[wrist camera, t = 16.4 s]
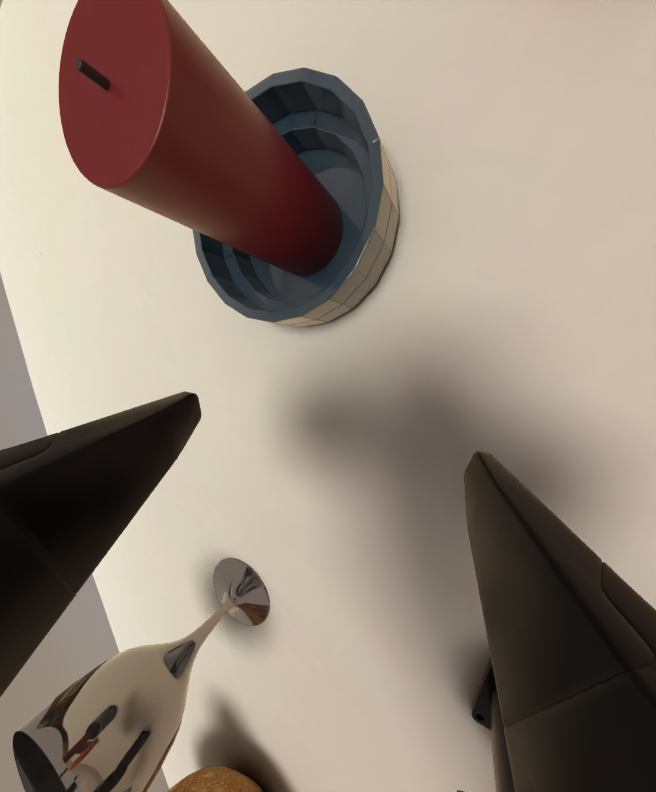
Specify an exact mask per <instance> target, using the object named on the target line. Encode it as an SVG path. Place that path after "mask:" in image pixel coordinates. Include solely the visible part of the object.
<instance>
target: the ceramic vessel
mask: <svg viewBox="0 0 656 792" xmlns="http://www.w3.org/2000/svg"><path fill="white" fill-rule="evenodd" d="M168 792H263V791H262V789H261V788H260V787H259V786H258V785H257V784H256V783H255V782H254V781H253V780H252V779H250V778H249V777H247V776H245V775H243V774H241V773H239V772H237V771H235V770H233V769H230V768H227V767H218V766H217V767H208V768H203V769H201V770H198V771H196V772H194V773H192V774H190V775H188V776H186V777H185V778H184V779H182V780H181V781H180V782H178V783H177V784H175V785H174V786H173V787H172V788H171V789H170V790H169V791H168Z"/></svg>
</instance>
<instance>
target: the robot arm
mask: <svg viewBox="0 0 656 792" xmlns="http://www.w3.org/2000/svg"><path fill="white" fill-rule="evenodd" d="M200 419H201V409H200V404H199V399H198V396H197V395H196V394H195V393H190V392H181V393H178V394H175V395H172V396H169V397H166V398H163V399H160V400H157V401H154V402H151V403H147V404H144V405H141V406H138V407H135V408H132V409H129V410H126V411H123V412H120V413H117V414H114V415H111V416H107V417H104V418H101V419H98V420H95V421H92V422H89V423H86V424H83V425H80V426H77V427H74V428H71V429H68V430H64V431H61V432H60V433H55V434H52V435H49V436H46V437H43V438H40V439H37V440H34V441H30V442H27V443H24V444H20V445H18V446H14V447H11V448H7V449H3V450H0V697H1V695H2V694H3V693H4V691H5V690H6V689H7V687H8V686H9V685H10V683H11V682H12V681H13V679H14V678H15V677H16V675H17V674H18V673H19V671H20V670H21V668H22V667H23V666H24V664H25V663H26V662H27V660H28V659H29V658H30V656H31V655H32V654H33V652H34V651H35V650H36V648H37V647H38V646H39V644H40V643H41V641H42V640H43V639H44V637H45V636H46V635H47V633H48V632H49V631H50V629H51V628H52V627H53V625H54V624H55V623H56V621H57V620H58V619H59V617H60V616H61V615H62V613H63V612H64V611H65V609H66V608H67V606H68V605H69V604H70V602H71V601H72V600H73V598H74V597H75V596H76V593H77V592H78V591H79V590H80V589H81V587H82V586H83V585H84V583H85V582H86V580H87V579H88V578H89V577H90V575H91V574H92V572H93V571H94V570H95V568H96V567H97V566H98V564H99V563H100V562H101V560H102V559H103V558H104V556H105V555H106V554H107V552H108V551H109V550H110V548H111V547H112V546H113V544H114V543H115V541H116V540H117V539H118V537H119V536H120V535H121V533H122V532H123V531H124V529H125V528H126V527H127V525H128V524H129V523H130V521H131V520H132V519H133V517H134V516H135V515H136V513H137V512H138V510H139V509H140V508H141V506H142V505H143V504H144V502H145V501H146V500H147V498H148V497H149V496H150V494H151V493H152V492H153V490H154V489H155V488H156V486H157V485H158V484H159V482H160V481H161V479H162V478H163V477H164V475H165V474H166V473H167V471H168V470H169V469H170V467H171V466H172V465H173V463H174V462H175V460H176V459H177V458H178V456H179V455H180V453H181V451H182V450H183V448H184V446H185V445H186V443H187V441H188V440H189V438H190V436H191V435H192V433H193V431H194V429H195V428H196V426H197V424H198V423H199V421H200ZM464 482H465V499H466V516H467V526H468V533H469V538H470V544H471V549H472V555H473V560H474V566H475V571H476V577H477V582H478V588H479V593H480V599H481V604H482V610H483V616H484V621H485V627H486V632H487V638H488V643H489V649H490V654H491V660H490V662H489V665H488V667H487V670H486V672H485V674H484V677H483V679H482V682H481V684H480V687H479V689H478V691H477V694H476V696H475V699H474V701H473V704H472V707H471V711H472V717H473V718H474V720H476V721H477V722H478V723H480V724H481V725H483V726H485V727H486V728H488V729H489V730H491V736H492V749H493V761H494V774H495V787H496V792H656V610H655V609H654V608H653V607H652V606H651V605H649V604H648V603H647V602H646V601H645V600H644V599H643V598H642V597H641V596H640V595H639V594H638V593H636V592H635V591H634V590H633V589H632V588H631V587H630V586H629V585H628V584H627V583H626V582H625V581H624V580H623V579H621V578H620V577H619V576H618V575H617V574H616V573H615V572H614V571H613V570H612V569H611V568H610V567H609V566H608V565H607V564H606V563H604V562H602V560H601V559H600V558H599V557H598V556H597V555H596V554H595V553H594V552H593V551H592V550H591V549H590V548H589V547H588V546H587V545H586V544H585V543H584V542H583V541H582V540H581V539H580V538H578V537H577V536H576V535H575V534H574V533H573V532H572V531H571V530H570V529H569V528H568V527H567V526H566V525H565V524H564V523H563V522H562V521H561V520H560V519H559V518H558V517H557V516H556V515H554V514H553V513H552V512H551V511H550V510H549V509H548V508H547V507H546V506H545V505H544V504H543V503H542V502H541V501H540V500H539V499H538V498H537V497H536V496H535V495H534V494H533V493H531V492H530V491H529V490H528V489H527V488H526V487H525V486H524V485H523V484H522V483H521V482H520V481H519V480H518V479H517V478H516V477H515V476H514V475H513V474H512V473H511V472H510V471H508V470H507V469H506V468H505V467H504V466H503V465H502V464H501V463H500V462H499V461H498V460H497V459H496V458H495V457H494V456H493V455H491V454H489V453H484V452H479V451H477V452H475V453H474V454H473V456H472V458H471V460H470V462H469V464H468V466H467V468H466V470H465V474H464ZM457 792H463V791H459V790H457Z"/></svg>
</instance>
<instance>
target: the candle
mask: <svg viewBox="0 0 656 792" xmlns="http://www.w3.org/2000/svg"><path fill="white" fill-rule="evenodd" d="M59 107H60V116H61V123H62V128H63V133H64V137H65V140H66V144H67V147H68V149H69V152H70V155H71V157H72V159H73V161H74V163H75V164H76V166H77V168H78V169H79V171H80V172H81V173H82V174H83V175H84V177H86V178H87V179H88V180H89V181H90V182H91V183H93V184H94V185H96V186H98V187H100V188H102V189H104V190H107V191H109V192H111V193H113V194H115V195H118V196H120V197H122V198H124V199H127V200H129V201H131V202H133V203H135V204H138V205H140V206H142V207H144V208H147V209H149V210H151V211H153V212H155V213H158V214H160V215H162V216H164V217H167V218H169V219H171V220H173V221H175V222H178V223H180V224H182V225H184V226H187V227H189V228H191V229H193V230H195V231H198V232H200V233H202V234H204V235H207V236H209V237H211V238H213V239H215V240H218V241H220V242H222V243H224V244H227V245H229V246H231V247H233V248H235V249H238V250H240V251H242V252H244V253H247V254H249V255H251V256H253V257H255V258H258V259H260V260H262V261H264V262H267V263H269V264H271V265H273V266H275V267H278V268H280V269H282V270H284V271H287V272H289V273H291V274H294V275H298V276H306V275H311V274H314V273H316V272H318V271H320V270H321V269H323V268H324V267H325V266H326V265H327V264H328V263H329V262H330V261H331V259H332V258H333V257H334V255H335V253H336V251H337V249H338V247H339V244H340V241H341V237H342V230H343V221H342V215H341V211H340V208H339V206H338V204H337V202H336V200H335V199H334V198H333V197H332V195H331V194H330V193H329V192H328V191H327V190H326V188H325V187H324V186H323V185H322V184H321V182H320V181H319V180H318V179H317V178H316V176H315V175H314V174H313V173H312V172H311V170H310V169H309V168H308V167H307V166H306V165H305V163H304V162H303V161H302V160H301V159H300V157H299V156H298V155H297V154H296V153H295V151H294V150H293V149H292V148H291V147H290V145H289V144H288V143H287V142H286V141H285V140H284V138H283V137H282V136H281V135H280V134H279V132H278V131H277V130H276V129H275V128H274V126H273V125H272V124H271V123H270V122H269V120H268V119H267V118H266V117H265V116H264V115H263V113H262V112H261V111H260V110H259V109H258V107H257V106H256V105H255V104H254V103H253V101H252V100H251V99H250V98H249V97H248V95H247V94H246V93H245V92H244V91H243V90H242V88H241V87H240V86H239V85H238V84H237V82H236V81H235V80H234V79H233V78H232V76H231V75H230V74H229V73H228V72H227V70H226V69H225V68H224V67H223V66H222V65H221V63H220V62H219V61H218V60H217V59H216V57H215V56H214V55H213V54H212V53H211V51H210V50H209V49H208V48H207V47H206V45H205V44H204V43H203V42H202V41H201V40H200V38H199V37H198V36H197V35H196V34H195V32H194V31H193V30H192V29H191V28H190V26H189V25H188V24H187V23H186V22H185V20H184V19H183V18H182V17H181V16H180V15H179V13H178V12H177V11H176V10H175V9H174V7H173V6H172V5H171V4H170V3H169V1H168V0H78V2H77V4H76V7H75V9H74V11H73V14H72V16H71V19H70V22H69V25H68V28H67V32H66V35H65V40H64V44H63V49H62V55H61V62H60V72H59Z"/></svg>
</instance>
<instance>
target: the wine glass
mask: <svg viewBox="0 0 656 792" xmlns="http://www.w3.org/2000/svg"><path fill="white" fill-rule="evenodd" d="M213 579H214V587H215V590H216V593H217V596H218V598H219V600H220V602H221V603H222V606H221V607H220V608H219V609H218V610H217V611H216V612H215V613H214V614H213V615H212V616H211V617H210V618H209V619H208V620H207V621H206V622H205V623H204V624H202V625H201V626H200V627H199V628H198V629H196V630H195V631H194V632H193V633H191V634H190V635H189V636H187V637H185V638H183V639H180V640H178V641H174V642H171V643H164V644H156V645H147V646H139V647H135V648H131V649H127V650H125V651H123V652H121V653H119V654H117V655H115V656H114V657H112V658H111V659H109V660H107V661H106V662H104V663H102V664H101V665H99V666H98V667H96V668H94V669H93V670H92V671H90V672H89V673H87V674H86V675H85V676H83V677H82V678H80V679H79V680H77V681H76V682H75V683H73V684H72V685H71V686H69V687H68V688H67V689H66V690H64V691H63V692H62V693H61V694H60V695H58V696H57V697H56V698H54V699H53V700H52V701H51V702H50V703H48V704H47V705H46V706H45V707H43V708H42V709H41V710H40V711H39V712H38V713H37V714H36V715H34V716H33V717H32V718H31V719H30V720H29V721H27V722H26V723H25V724H24V725H23V726H22V727H21V728H19V729H18V730H17V731H16V732H15V734H14V737H13V750H14V757H15V761H16V765H17V769H18V772H19V775H20V778H21V781H22V784H23V787H24V789H25V791H26V792H147V790H148V788H149V787H150V785H151V783H152V781H153V780H154V778H155V776H156V775H157V773H158V771H159V769H160V768H161V766H162V764H163V762H164V760H165V758H166V756H167V754H168V753H169V751H170V749H171V747H172V745H173V743H174V740H175V738H176V736H177V733H178V731H179V728H180V725H181V721H182V717H183V713H184V709H185V703H186V697H187V691H188V685H189V679H190V674H191V670H192V666H193V663H194V660H195V658H196V655H197V653H198V651H199V649H200V647H201V646H202V644H203V643H204V641H205V640H206V638H207V637H208V635H209V634H210V633H211V631H212V630H213V629H214V627H215V626H216V625H217V623H218V622H219V621H220V620H221V619H222V617H223V616H224V615H225V614H226V613H227V612H228V613H229V614H230V615H231V616H233V617H234V618H235V619H236V620H238V621H239V622H242V623H244V624H247V625H258V624H260V623H262V622H263V621H264V620H265V619H266V618H267V616H268V613H269V598H268V594H267V591H266V588H265V586H264V584H263V582H262V581H261V579H260V578H259V576H258V575H257V574H256V573H255V572H254V571H253V570H252V569H251V568H250V567H249V566H248V565H247V564H245V563H243V562H242V561H239V560H237V559H232V558H228V559H224V560H222V561H220V562H219V563H218V564H217V566H216V568H215V571H214V578H213Z"/></svg>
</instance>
